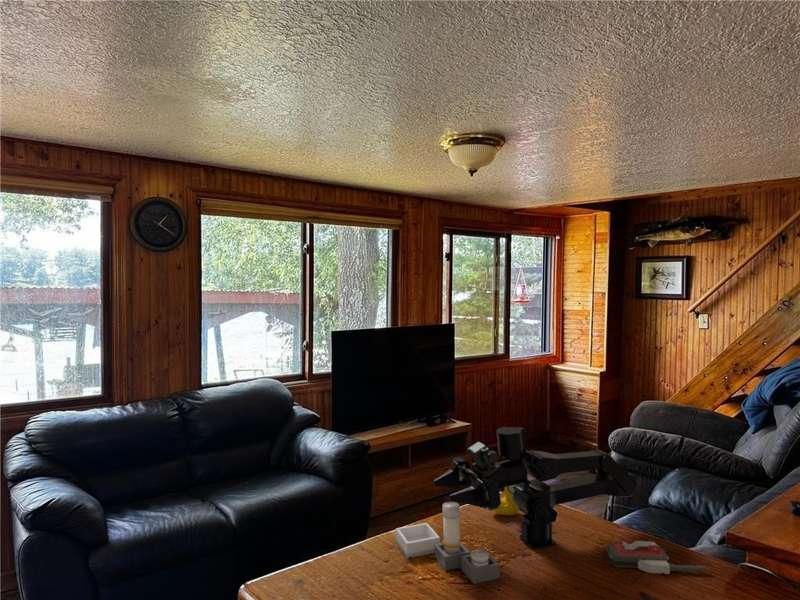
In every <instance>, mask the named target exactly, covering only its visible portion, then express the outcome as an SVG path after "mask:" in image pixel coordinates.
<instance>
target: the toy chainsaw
mask: <svg viewBox="0 0 800 600" xmlns="http://www.w3.org/2000/svg"><path fill="white" fill-rule="evenodd" d="M606 544H607V546H606V548H607V549H606V550H607V556H608V559H607V563H608V564H609V565H612V566H614V567H615V568H626V569H629V568H631V569H638V570H640V571H642V572H646V573H647V574H648V573H649V574H662V573H664V574H665V575H670V572H675V571H678V572H679V571H680V572H681V571H682V572H695V571H708V568H707V566H706V565H682V564H681V565H679V564H674V563H672V564H671V563H669V562H668V561H669V560H670V558H669V556H668V555H667V554H666V550H665V548H662V547H661V545H659V544H657V543H656V542H655V541H652V540H650V541H649V540H647V541H645V540H635V541H634V542H632V543H627V542H626V541H622V542H621V543H620V542H619V543H618V542H608V543H606Z"/></svg>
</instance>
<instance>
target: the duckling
mask: <svg viewBox="0 0 800 600" xmlns="http://www.w3.org/2000/svg"><path fill="white" fill-rule="evenodd" d="M516 488H517V484H516V485H512V486H508V487H504V490H505V491H503V492H501V493H502V494H503V495H504V496H503V497H500V501H501V504H500V506H499V507H498V509H495V510H491V511H492V512H493V513H495V514H498V515H500V516H513V515H516V514H517V513H518V512H520V510H519V507H518V506H517V505H516V504H515V502H514V500H513V493H514V491H515V489H516Z"/></svg>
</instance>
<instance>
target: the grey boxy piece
mask: <svg viewBox="0 0 800 600" xmlns="http://www.w3.org/2000/svg"><path fill="white" fill-rule="evenodd" d="M460 568H461V571H462V572H463V574H464V575H466V577H467V578H468V579H469V581H470V582H471V583H472V584H474V585H475V584H480V583H484V582H488V581H492V580H498V579H501V578H500V577H501V576H500V575H501V574H500V564H499V562H498V561H497V560H495V559H494V558H493V557H492V555H491V554H489V561H488V565H485V566H481V567H476V568H475V567H474V566H473V565H472V560H471V553H470V555H465V556H461V567H460Z"/></svg>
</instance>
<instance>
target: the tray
mask: <svg viewBox="0 0 800 600" xmlns="http://www.w3.org/2000/svg"><path fill="white" fill-rule="evenodd" d="M395 543H396V545H397V546H398V547H399V549H400V550H401V552H402V551H403V552H402V553H403V554H405V555H404V556H405V558H406V559H410V558H409V557H412V558H416V557H415V556H417V557H422V556H425V555H426V556H427V555H431V553H432V554H435V552H434V545H435V544H440V543H441V538H440V536H439V535H438V534H437V533H436V531H435V530H434V529H433V528H432V527H431V526H430V525H429V523H428V522H424V523H419V524H414V525H413V524H412V525H408V526H402V527H397V528H395Z"/></svg>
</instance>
